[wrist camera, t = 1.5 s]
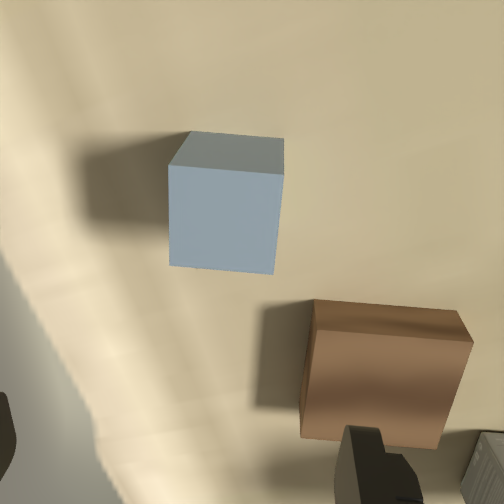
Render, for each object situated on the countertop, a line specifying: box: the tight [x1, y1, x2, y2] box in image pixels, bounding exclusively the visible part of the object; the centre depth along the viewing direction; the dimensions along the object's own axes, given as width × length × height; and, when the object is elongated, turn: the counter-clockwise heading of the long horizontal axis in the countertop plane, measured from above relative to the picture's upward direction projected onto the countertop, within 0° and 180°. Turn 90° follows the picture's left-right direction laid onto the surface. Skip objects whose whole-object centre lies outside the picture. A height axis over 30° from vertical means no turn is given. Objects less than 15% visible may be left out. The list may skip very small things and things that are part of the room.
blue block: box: [168, 131, 284, 275], centre depth 25 cm, size 5×5×6 cm
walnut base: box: [299, 299, 474, 450], centre depth 31 cm, size 9×9×4 cm
